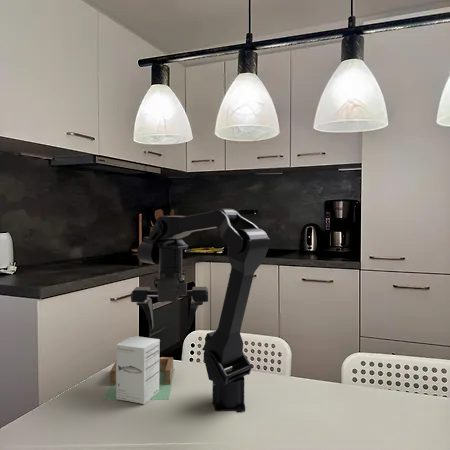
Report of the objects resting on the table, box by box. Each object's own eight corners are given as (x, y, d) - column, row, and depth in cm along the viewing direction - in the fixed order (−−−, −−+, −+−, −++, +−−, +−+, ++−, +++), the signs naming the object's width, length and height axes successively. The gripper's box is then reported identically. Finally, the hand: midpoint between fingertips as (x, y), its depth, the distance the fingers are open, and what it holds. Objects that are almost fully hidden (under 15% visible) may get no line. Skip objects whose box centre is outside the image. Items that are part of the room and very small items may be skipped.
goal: (173, 370, 112) (173, 357, 111) (170, 384, 102) (170, 370, 102) (118, 370, 111) (118, 357, 111) (110, 385, 102) (110, 371, 102)
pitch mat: (174, 370, 113) (174, 368, 112) (168, 400, 95) (168, 399, 95) (119, 370, 112) (119, 369, 112) (103, 401, 94) (102, 400, 94)
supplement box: (114, 400, 94) (114, 344, 93) (133, 387, 101) (132, 334, 100) (144, 405, 91) (143, 347, 91) (160, 391, 98) (160, 338, 98)
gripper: (126, 271, 96) (126, 338, 97) (208, 271, 97) (208, 338, 98) (134, 264, 108) (135, 325, 108) (208, 264, 108) (208, 325, 109)
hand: (170, 328), depth 105 cm, fingers open, 9 cm apart
